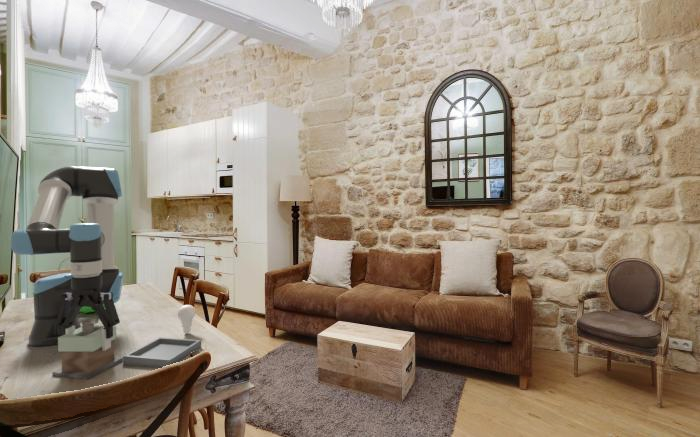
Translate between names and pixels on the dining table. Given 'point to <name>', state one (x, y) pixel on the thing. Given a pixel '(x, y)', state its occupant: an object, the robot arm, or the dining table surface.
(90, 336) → the collar
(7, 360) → the dining table surface
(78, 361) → the stake block
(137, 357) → the tray
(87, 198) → the robot arm
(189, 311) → the lightbulb
